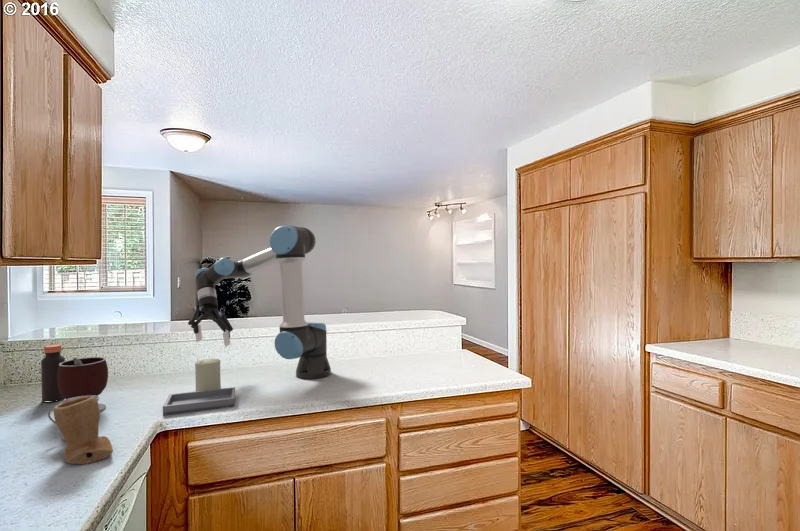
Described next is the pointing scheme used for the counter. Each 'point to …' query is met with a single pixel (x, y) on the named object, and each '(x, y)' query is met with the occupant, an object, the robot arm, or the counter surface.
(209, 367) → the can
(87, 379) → the mate gourd
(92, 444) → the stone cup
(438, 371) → the counter surface
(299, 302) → the robot arm
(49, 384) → the bottle
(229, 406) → the tray
